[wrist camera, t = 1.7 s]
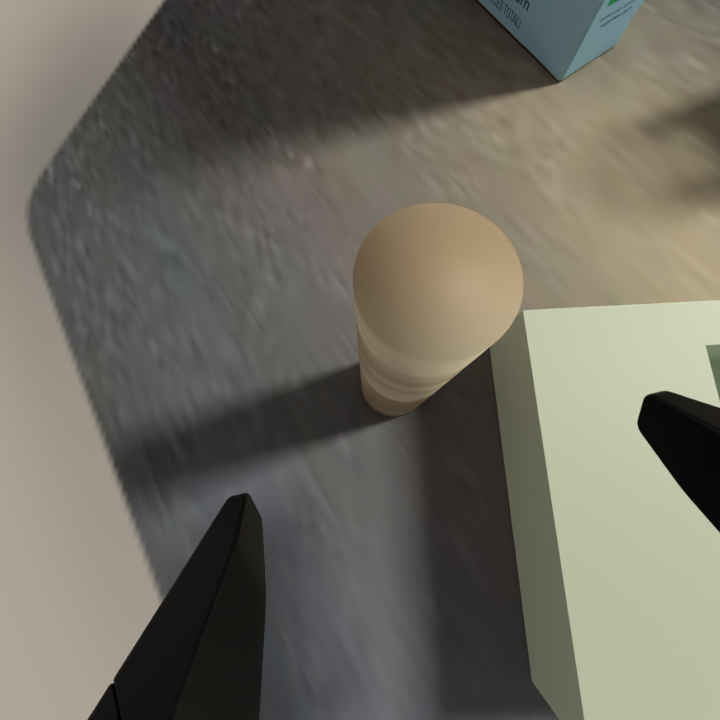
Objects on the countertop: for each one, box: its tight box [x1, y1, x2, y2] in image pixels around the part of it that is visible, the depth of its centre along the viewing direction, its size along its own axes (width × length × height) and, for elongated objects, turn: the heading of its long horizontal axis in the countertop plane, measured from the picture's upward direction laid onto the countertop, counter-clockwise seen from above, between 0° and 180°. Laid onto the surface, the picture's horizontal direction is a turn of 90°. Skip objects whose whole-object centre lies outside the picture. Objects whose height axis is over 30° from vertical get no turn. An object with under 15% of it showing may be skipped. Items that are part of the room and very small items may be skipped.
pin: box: [353, 203, 523, 417], centre depth 13 cm, size 3×3×12 cm
